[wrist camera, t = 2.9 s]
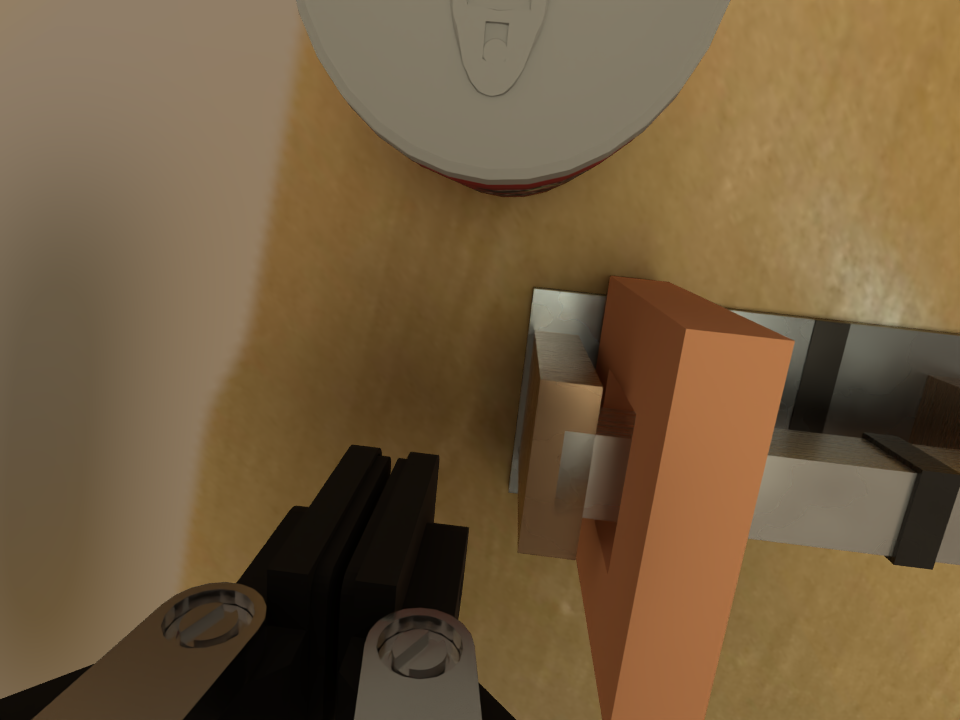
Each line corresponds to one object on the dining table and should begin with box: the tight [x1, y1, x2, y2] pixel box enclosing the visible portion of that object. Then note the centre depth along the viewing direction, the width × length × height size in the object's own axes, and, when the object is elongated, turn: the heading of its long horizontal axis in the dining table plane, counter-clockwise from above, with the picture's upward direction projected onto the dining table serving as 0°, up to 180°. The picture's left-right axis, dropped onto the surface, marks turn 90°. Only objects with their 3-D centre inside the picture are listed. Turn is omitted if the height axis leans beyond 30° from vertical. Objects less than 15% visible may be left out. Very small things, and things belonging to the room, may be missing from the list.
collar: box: [576, 276, 795, 720], centre depth 17 cm, size 2×10×10 cm, turn 174°
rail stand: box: [509, 287, 960, 570], centre depth 19 cm, size 16×8×7 cm, turn 84°
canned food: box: [296, 0, 730, 197], centre depth 15 cm, size 8×8×11 cm
